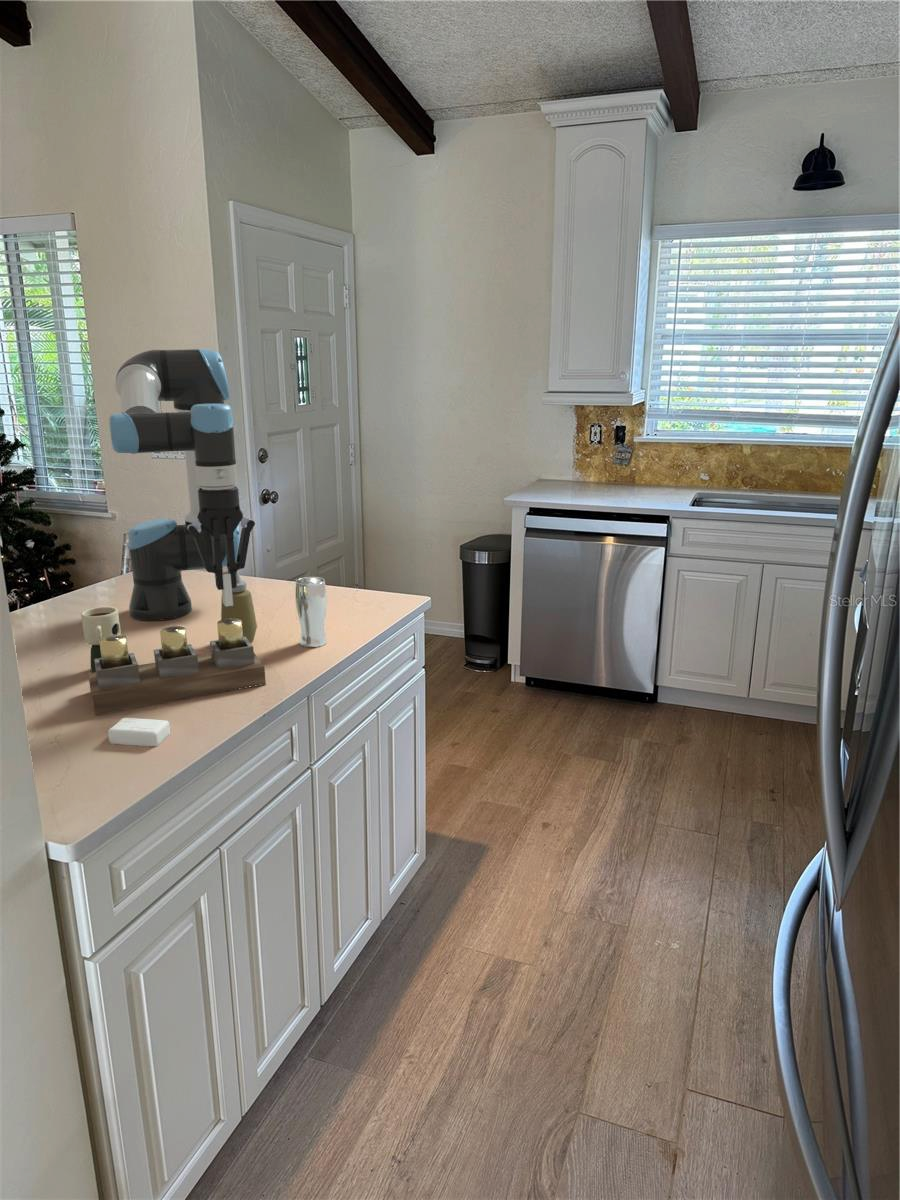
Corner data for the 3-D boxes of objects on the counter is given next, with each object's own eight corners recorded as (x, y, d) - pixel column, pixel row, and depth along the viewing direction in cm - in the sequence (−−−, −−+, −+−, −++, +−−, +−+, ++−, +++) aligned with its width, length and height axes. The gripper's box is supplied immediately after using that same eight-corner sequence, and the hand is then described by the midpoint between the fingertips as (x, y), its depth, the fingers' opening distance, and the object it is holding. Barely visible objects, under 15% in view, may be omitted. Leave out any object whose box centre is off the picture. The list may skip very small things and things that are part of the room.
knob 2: (217, 643, 169) (214, 619, 167) (240, 639, 171) (238, 616, 169) (222, 651, 165) (219, 626, 163) (246, 647, 167) (244, 623, 165)
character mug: (123, 677, 171) (115, 617, 167) (86, 681, 169) (77, 621, 165) (127, 659, 181) (120, 602, 177) (92, 662, 179) (84, 605, 175)
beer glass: (334, 640, 191) (331, 578, 187) (317, 650, 185) (314, 586, 181) (309, 636, 194) (306, 575, 190) (292, 645, 188) (288, 582, 184)
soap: (171, 734, 146) (170, 719, 145) (156, 748, 141) (155, 732, 140) (124, 731, 148) (122, 716, 147) (108, 745, 142) (105, 729, 141)
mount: (90, 691, 163) (85, 656, 161) (251, 664, 177) (248, 631, 175) (95, 715, 153) (90, 677, 151) (265, 684, 167) (263, 649, 165)
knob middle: (161, 652, 164) (158, 627, 162) (185, 648, 166) (183, 624, 165) (164, 660, 160) (161, 635, 158) (190, 656, 162) (187, 631, 160)
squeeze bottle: (249, 649, 186) (243, 572, 180) (216, 647, 187) (209, 571, 182) (263, 637, 193) (258, 563, 188) (231, 635, 195) (225, 561, 190)
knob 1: (101, 661, 159) (98, 636, 158) (127, 657, 161) (124, 632, 160) (103, 669, 155) (100, 644, 154) (130, 665, 157) (127, 640, 156)
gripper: (186, 492, 152) (198, 613, 159) (256, 486, 158) (265, 604, 164) (179, 486, 158) (191, 603, 165) (247, 481, 164) (255, 595, 171)
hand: (228, 604), depth 165 cm, fingers closed
